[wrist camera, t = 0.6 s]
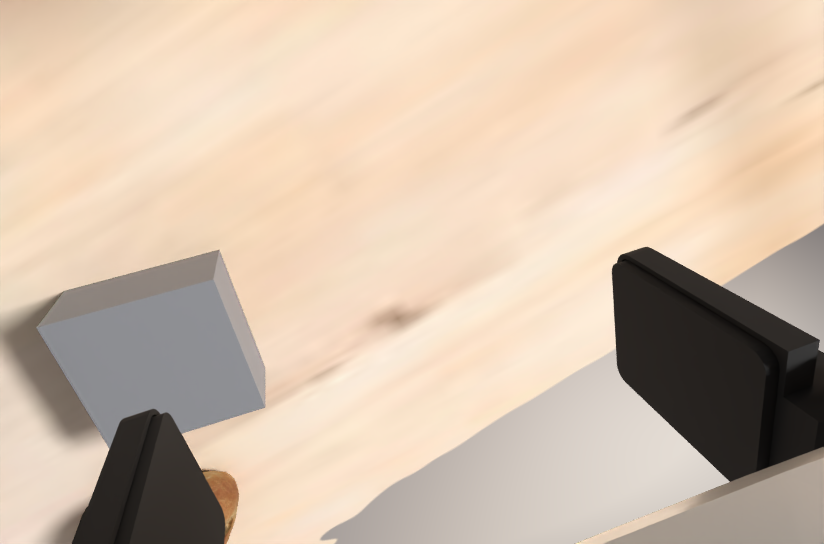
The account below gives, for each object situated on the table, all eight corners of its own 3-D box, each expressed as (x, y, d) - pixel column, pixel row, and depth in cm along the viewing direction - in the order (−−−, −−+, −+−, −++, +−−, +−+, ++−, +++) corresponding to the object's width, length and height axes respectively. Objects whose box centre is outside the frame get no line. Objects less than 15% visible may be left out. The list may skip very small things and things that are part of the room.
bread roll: (262, 499, 55) (262, 569, 48) (126, 566, 54) (106, 647, 47) (211, 437, 50) (203, 504, 43) (62, 510, 49) (29, 590, 42)
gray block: (65, 289, 42) (36, 327, 36) (219, 248, 43) (213, 279, 38) (130, 406, 47) (113, 454, 42) (265, 366, 49) (265, 407, 43)
